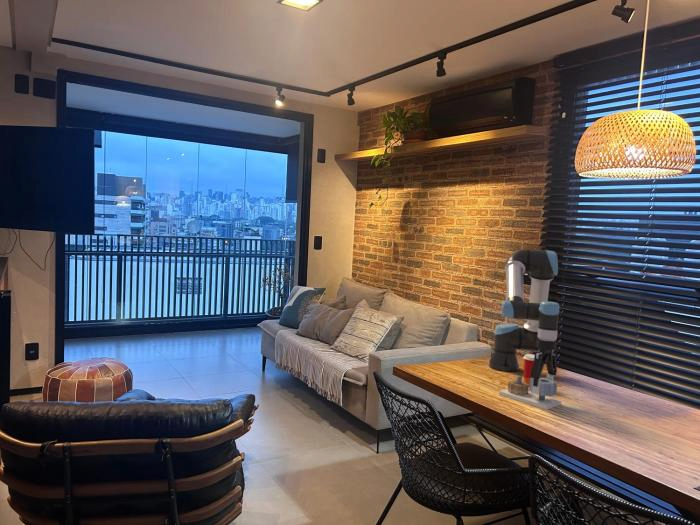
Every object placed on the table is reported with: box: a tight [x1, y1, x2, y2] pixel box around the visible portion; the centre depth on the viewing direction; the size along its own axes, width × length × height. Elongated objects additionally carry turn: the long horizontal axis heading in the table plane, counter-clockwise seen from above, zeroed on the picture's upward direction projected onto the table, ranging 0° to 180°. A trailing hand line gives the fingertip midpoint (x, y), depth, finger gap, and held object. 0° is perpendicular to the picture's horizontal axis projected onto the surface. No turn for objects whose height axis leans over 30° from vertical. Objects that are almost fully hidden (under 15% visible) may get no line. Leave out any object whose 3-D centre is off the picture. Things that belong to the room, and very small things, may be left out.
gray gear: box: [528, 377, 558, 398], centre depth 212 cm, size 10×10×5 cm
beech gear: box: [507, 380, 529, 395], centre depth 221 cm, size 8×8×4 cm
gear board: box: [498, 375, 562, 411], centre depth 217 cm, size 12×22×8 cm, turn 41°
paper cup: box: [522, 353, 535, 386], centre depth 238 cm, size 8×8×14 cm
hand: (542, 391), depth 213 cm, fingers closed on gray gear, 10 cm apart
